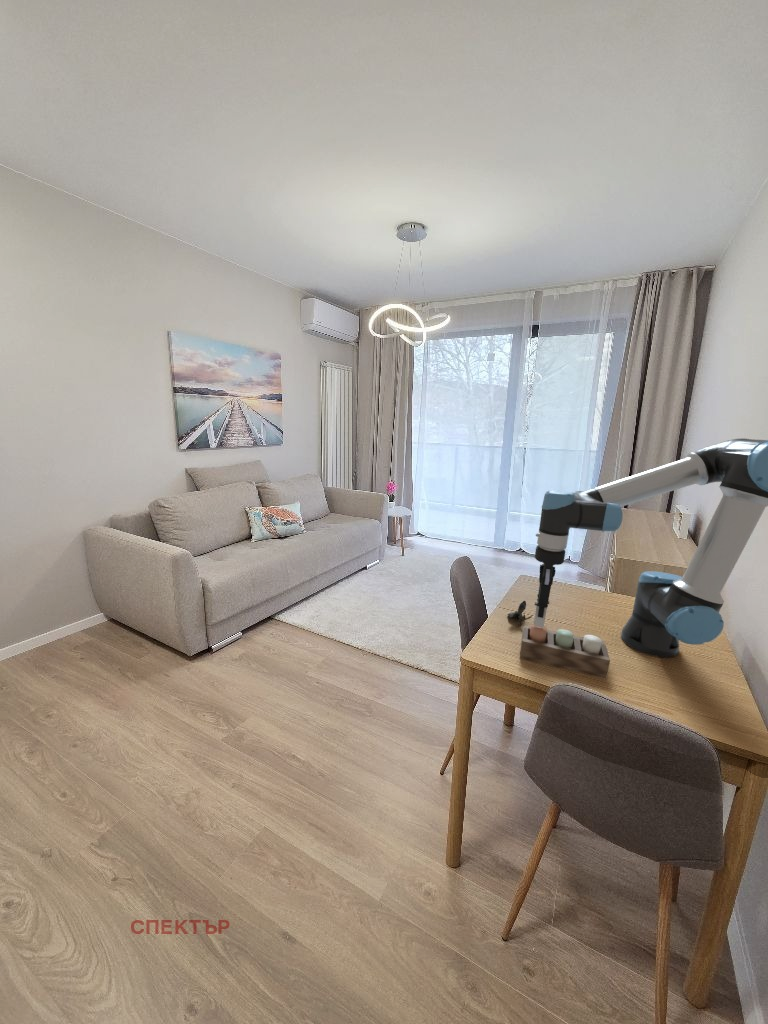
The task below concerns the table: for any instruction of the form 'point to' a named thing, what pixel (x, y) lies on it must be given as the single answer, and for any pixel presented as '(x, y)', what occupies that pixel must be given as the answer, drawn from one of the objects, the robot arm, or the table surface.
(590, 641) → the white rounded block
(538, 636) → the pink rounded block
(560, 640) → the sage button
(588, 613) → the table surface
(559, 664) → the wooden egg holder
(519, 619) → the eagle figurine
